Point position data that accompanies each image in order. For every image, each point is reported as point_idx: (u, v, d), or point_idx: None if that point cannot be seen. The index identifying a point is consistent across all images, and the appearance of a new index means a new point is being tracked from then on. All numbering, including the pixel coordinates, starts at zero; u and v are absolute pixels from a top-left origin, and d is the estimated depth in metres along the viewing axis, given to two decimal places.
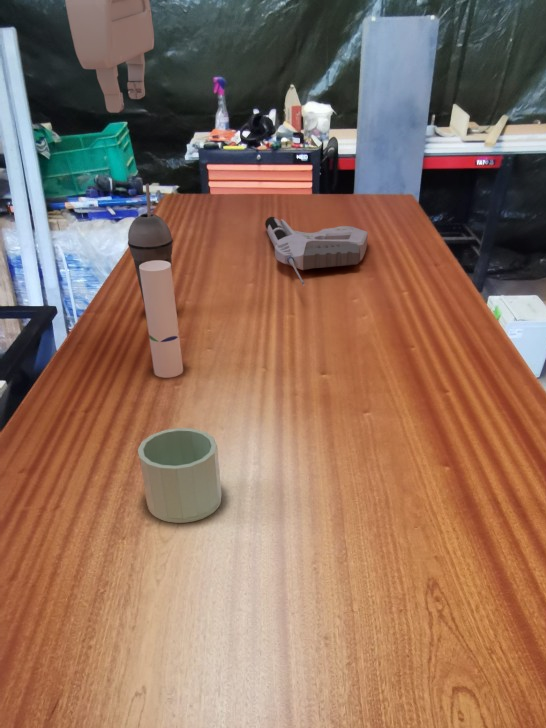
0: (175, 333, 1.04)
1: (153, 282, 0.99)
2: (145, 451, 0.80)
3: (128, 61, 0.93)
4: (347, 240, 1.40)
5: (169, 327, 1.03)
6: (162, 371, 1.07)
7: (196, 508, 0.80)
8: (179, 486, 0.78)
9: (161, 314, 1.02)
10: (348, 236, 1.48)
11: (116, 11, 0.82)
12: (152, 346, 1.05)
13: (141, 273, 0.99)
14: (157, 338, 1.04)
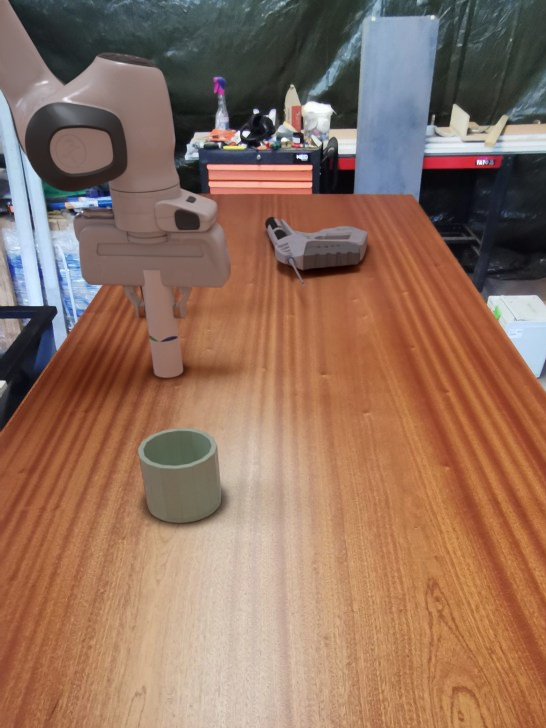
0: (175, 333, 1.04)
1: (153, 282, 0.99)
2: (145, 451, 0.80)
3: (133, 290, 1.01)
4: (347, 240, 1.40)
5: (169, 327, 1.03)
6: (162, 371, 1.07)
7: (196, 508, 0.80)
8: (179, 486, 0.78)
9: (161, 314, 1.02)
10: (348, 236, 1.48)
11: None
12: (152, 346, 1.05)
13: None
14: (157, 338, 1.04)
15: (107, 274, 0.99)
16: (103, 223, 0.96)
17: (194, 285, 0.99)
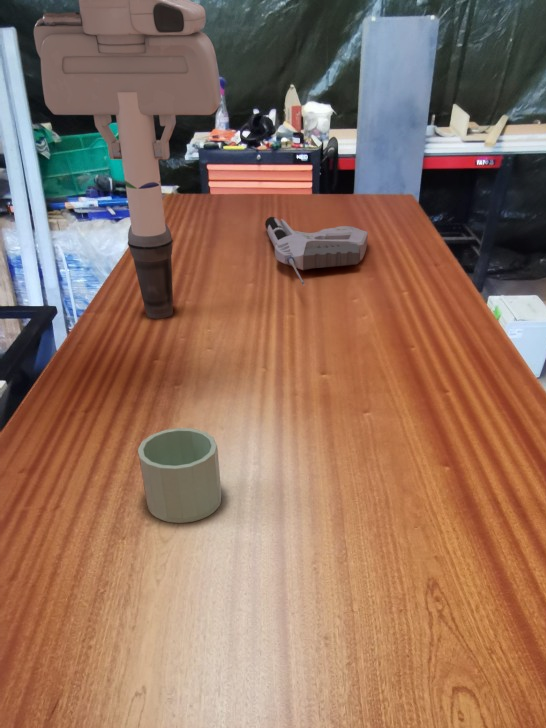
0: (156, 179, 0.89)
1: (129, 107, 0.83)
2: (145, 451, 0.80)
3: (107, 122, 0.86)
4: (347, 240, 1.40)
5: (148, 169, 0.88)
6: (141, 227, 0.92)
7: (196, 508, 0.80)
8: (179, 486, 0.78)
9: (139, 151, 0.86)
10: (348, 236, 1.48)
11: None
12: (129, 196, 0.90)
13: None
14: (135, 184, 0.89)
15: (75, 98, 0.84)
16: (69, 32, 0.81)
17: (178, 112, 0.83)
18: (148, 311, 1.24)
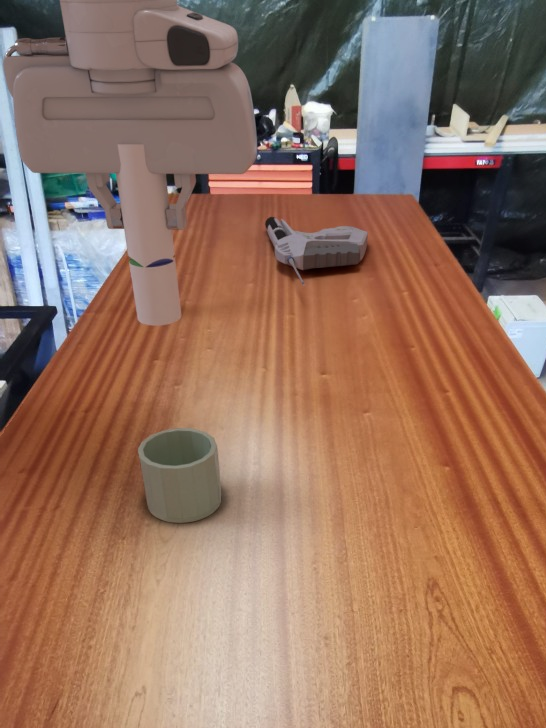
0: (169, 254, 0.67)
1: (133, 164, 0.62)
2: (145, 451, 0.80)
3: (103, 182, 0.64)
4: (347, 240, 1.40)
5: (159, 243, 0.66)
6: (149, 315, 0.70)
7: (196, 508, 0.80)
8: (179, 486, 0.78)
9: (147, 220, 0.64)
10: (348, 236, 1.48)
11: None
12: (134, 276, 0.68)
13: None
14: (141, 261, 0.67)
15: (60, 152, 0.62)
16: (51, 64, 0.59)
17: (199, 170, 0.62)
18: None
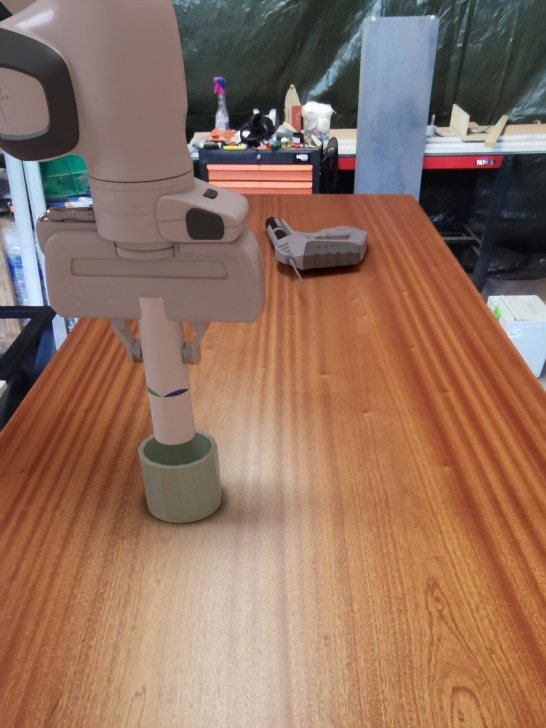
0: (184, 384, 0.73)
1: (153, 314, 0.68)
2: (145, 451, 0.80)
3: (125, 324, 0.70)
4: (347, 240, 1.40)
5: (176, 376, 0.72)
6: (166, 436, 0.76)
7: (196, 508, 0.80)
8: (179, 486, 0.78)
9: (164, 359, 0.71)
10: (348, 236, 1.48)
11: None
12: (152, 403, 0.74)
13: None
14: (159, 392, 0.73)
15: (86, 302, 0.68)
16: (80, 229, 0.65)
17: (213, 319, 0.68)
18: None
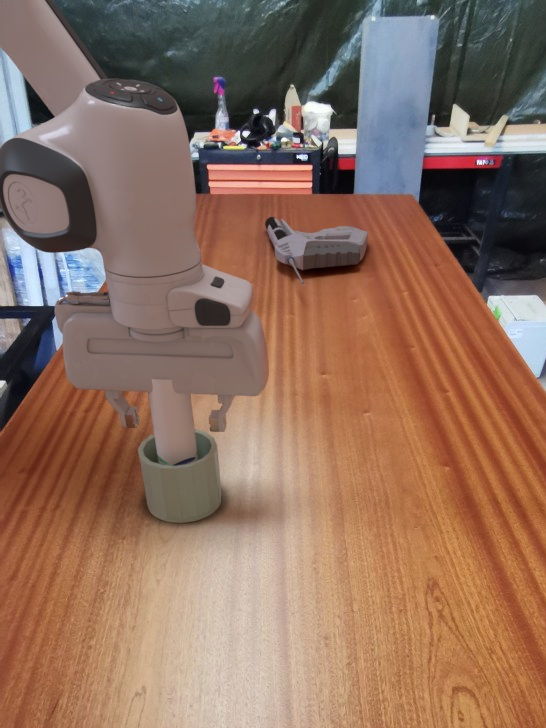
0: (192, 454, 0.79)
1: (163, 394, 0.73)
2: (145, 451, 0.80)
3: (119, 395, 0.75)
4: (347, 240, 1.40)
5: (184, 447, 0.77)
6: None
7: (196, 508, 0.80)
8: (179, 486, 0.78)
9: (174, 432, 0.76)
10: (348, 236, 1.48)
11: None
12: None
13: None
14: (168, 461, 0.78)
15: (101, 376, 0.73)
16: (96, 311, 0.70)
17: (220, 393, 0.72)
18: None
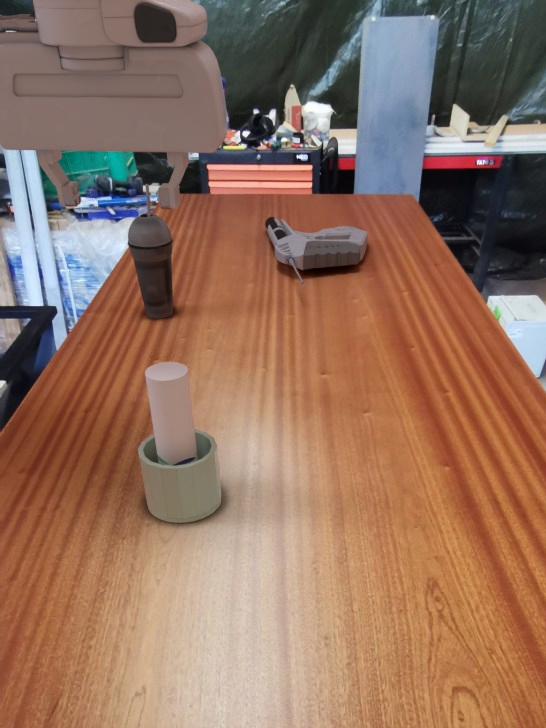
0: (192, 454, 0.79)
1: (163, 394, 0.73)
2: (145, 451, 0.80)
3: (54, 159, 0.65)
4: (347, 240, 1.40)
5: (184, 447, 0.77)
6: None
7: (196, 508, 0.80)
8: (179, 486, 0.78)
9: (174, 432, 0.76)
10: (348, 236, 1.48)
11: None
12: None
13: (148, 382, 0.73)
14: (168, 461, 0.78)
15: (31, 129, 0.63)
16: (22, 40, 0.60)
17: (169, 148, 0.62)
18: (148, 311, 1.24)
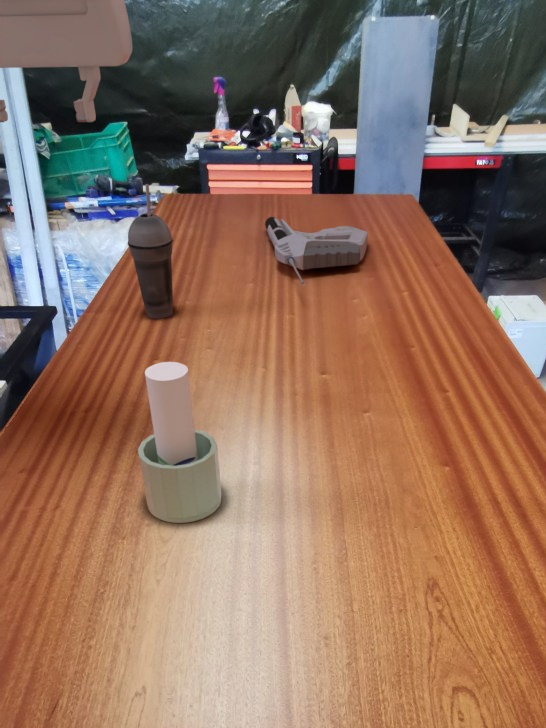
0: (192, 454, 0.79)
1: (163, 394, 0.73)
2: (145, 451, 0.80)
3: None
4: (347, 240, 1.40)
5: (184, 447, 0.77)
6: None
7: (196, 508, 0.80)
8: (179, 486, 0.78)
9: (174, 432, 0.76)
10: (348, 236, 1.48)
11: None
12: None
13: (148, 382, 0.73)
14: (168, 461, 0.78)
15: None
16: None
17: (79, 62, 0.70)
18: (148, 311, 1.24)
